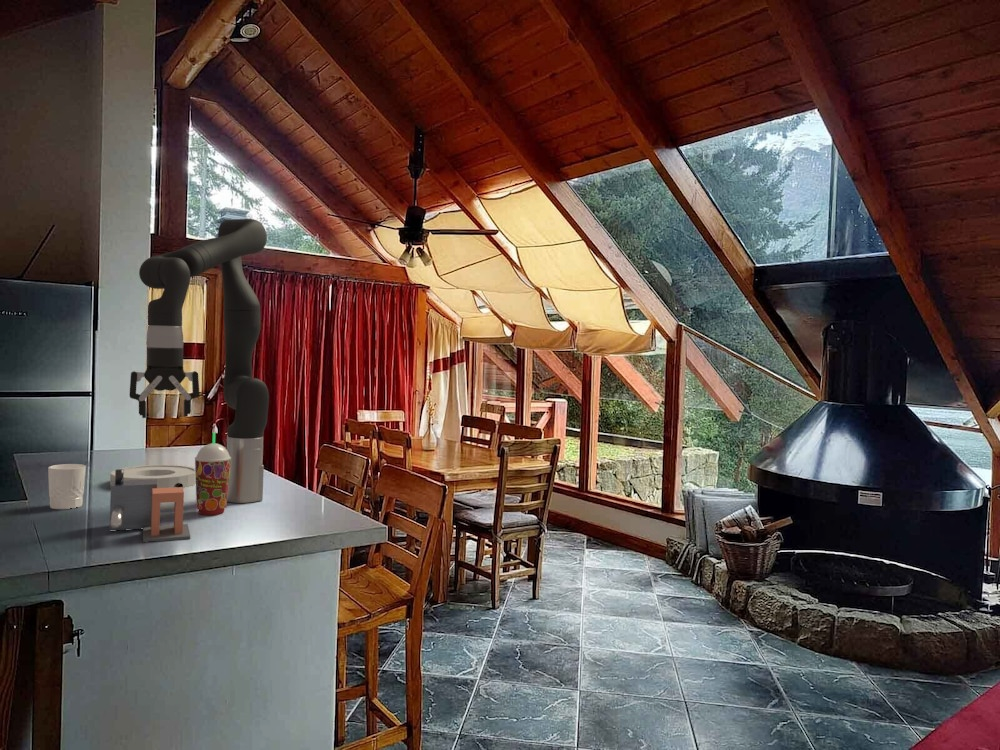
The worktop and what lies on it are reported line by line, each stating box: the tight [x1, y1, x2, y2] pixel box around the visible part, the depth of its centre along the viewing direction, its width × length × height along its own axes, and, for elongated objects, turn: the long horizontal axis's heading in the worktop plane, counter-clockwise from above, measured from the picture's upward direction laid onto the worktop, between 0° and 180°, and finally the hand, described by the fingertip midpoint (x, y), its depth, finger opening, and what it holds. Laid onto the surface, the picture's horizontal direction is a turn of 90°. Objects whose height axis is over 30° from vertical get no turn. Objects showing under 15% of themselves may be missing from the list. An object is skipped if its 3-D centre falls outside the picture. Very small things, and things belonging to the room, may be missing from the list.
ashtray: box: [109, 464, 196, 489], centre depth 202 cm, size 23×23×4 cm
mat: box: [142, 523, 191, 543], centre depth 149 cm, size 9×11×1 cm
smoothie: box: [194, 432, 231, 516], centre depth 170 cm, size 8×8×20 cm
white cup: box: [47, 463, 87, 510], centre depth 170 cm, size 8×8×10 cm
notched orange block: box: [151, 486, 185, 536], centre depth 149 cm, size 6×6×9 cm
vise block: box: [109, 468, 157, 531], centre depth 149 cm, size 18×9×13 cm, turn 27°
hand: (164, 416), depth 157 cm, fingers open, 8 cm apart
